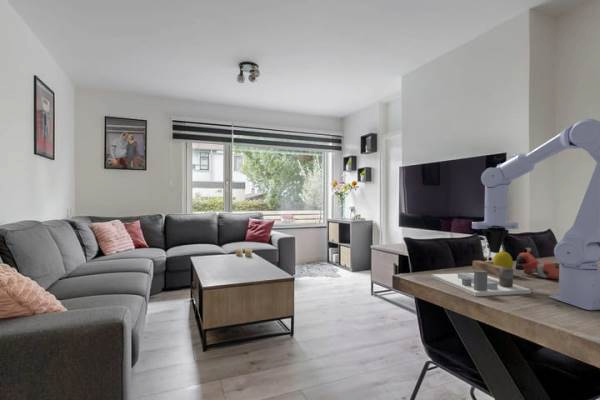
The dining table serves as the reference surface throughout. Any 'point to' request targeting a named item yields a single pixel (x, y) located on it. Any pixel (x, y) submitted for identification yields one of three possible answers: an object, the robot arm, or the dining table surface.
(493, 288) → the latch frame
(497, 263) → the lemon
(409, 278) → the dining table surface
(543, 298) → the dining table surface
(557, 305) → the dining table surface
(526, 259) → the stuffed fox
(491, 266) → the latch bar
